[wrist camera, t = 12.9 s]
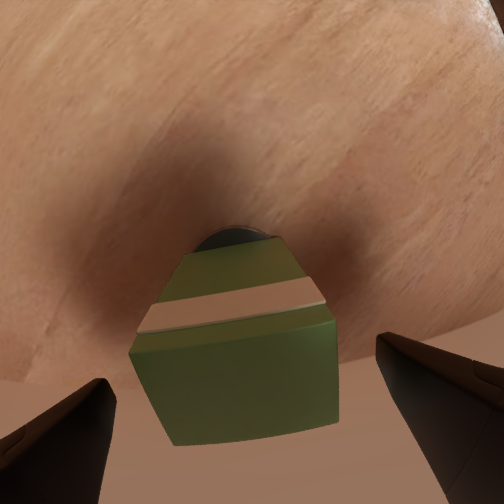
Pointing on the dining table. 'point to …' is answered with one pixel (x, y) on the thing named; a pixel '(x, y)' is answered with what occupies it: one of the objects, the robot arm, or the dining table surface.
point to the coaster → (230, 237)
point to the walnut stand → (499, 11)
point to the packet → (239, 348)
